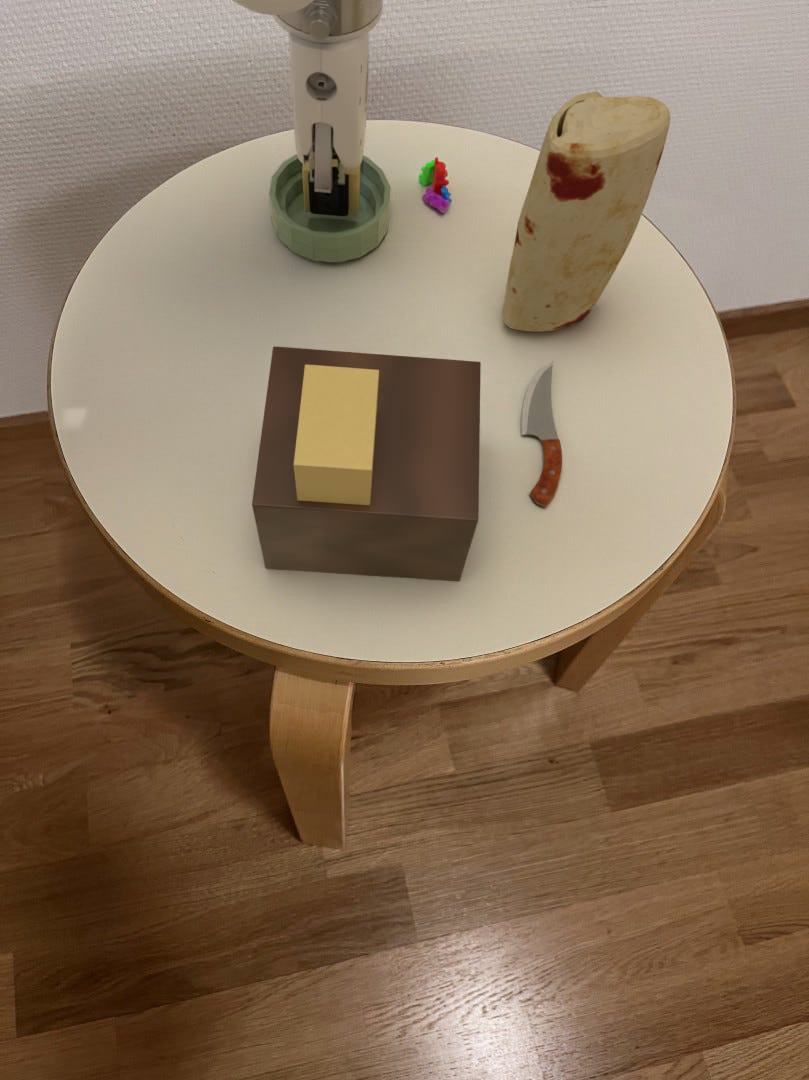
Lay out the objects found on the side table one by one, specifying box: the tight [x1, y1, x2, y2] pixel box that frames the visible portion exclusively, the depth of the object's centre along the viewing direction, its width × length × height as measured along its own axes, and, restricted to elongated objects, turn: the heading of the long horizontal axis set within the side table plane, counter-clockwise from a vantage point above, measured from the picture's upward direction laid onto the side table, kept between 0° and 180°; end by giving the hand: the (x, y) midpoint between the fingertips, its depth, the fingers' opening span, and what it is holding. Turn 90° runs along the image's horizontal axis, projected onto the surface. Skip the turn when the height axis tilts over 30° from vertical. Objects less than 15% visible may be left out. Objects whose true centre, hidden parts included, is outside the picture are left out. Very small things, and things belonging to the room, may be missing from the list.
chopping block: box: [251, 345, 482, 582], centre depth 62 cm, size 14×12×10 cm
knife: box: [521, 360, 563, 508], centre depth 70 cm, size 13×1×3 cm
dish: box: [268, 153, 391, 263], centre depth 77 cm, size 10×10×4 cm
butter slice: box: [302, 159, 360, 216], centre depth 74 cm, size 4×2×4 cm, turn 87°
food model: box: [501, 90, 671, 332], centre depth 66 cm, size 10×7×20 cm
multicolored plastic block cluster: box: [418, 156, 453, 214], centre depth 79 cm, size 5×3×4 cm, turn 5°
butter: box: [294, 365, 379, 505], centre depth 55 cm, size 4×7×4 cm, turn 177°
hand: (331, 196), depth 76 cm, fingers closed on butter slice, 2 cm apart
